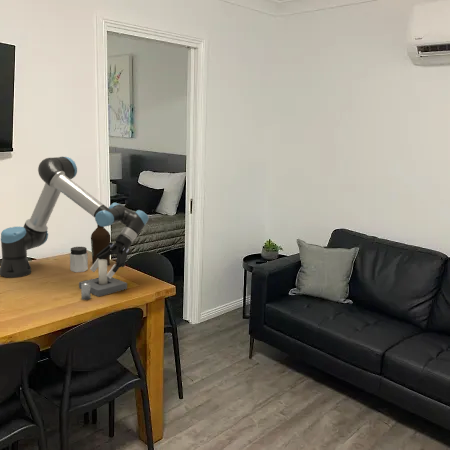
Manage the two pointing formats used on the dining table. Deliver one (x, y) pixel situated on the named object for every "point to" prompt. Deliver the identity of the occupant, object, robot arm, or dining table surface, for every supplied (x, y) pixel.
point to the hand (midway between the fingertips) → (99, 273)
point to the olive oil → (99, 242)
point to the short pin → (85, 290)
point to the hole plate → (105, 286)
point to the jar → (78, 259)
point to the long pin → (102, 271)
